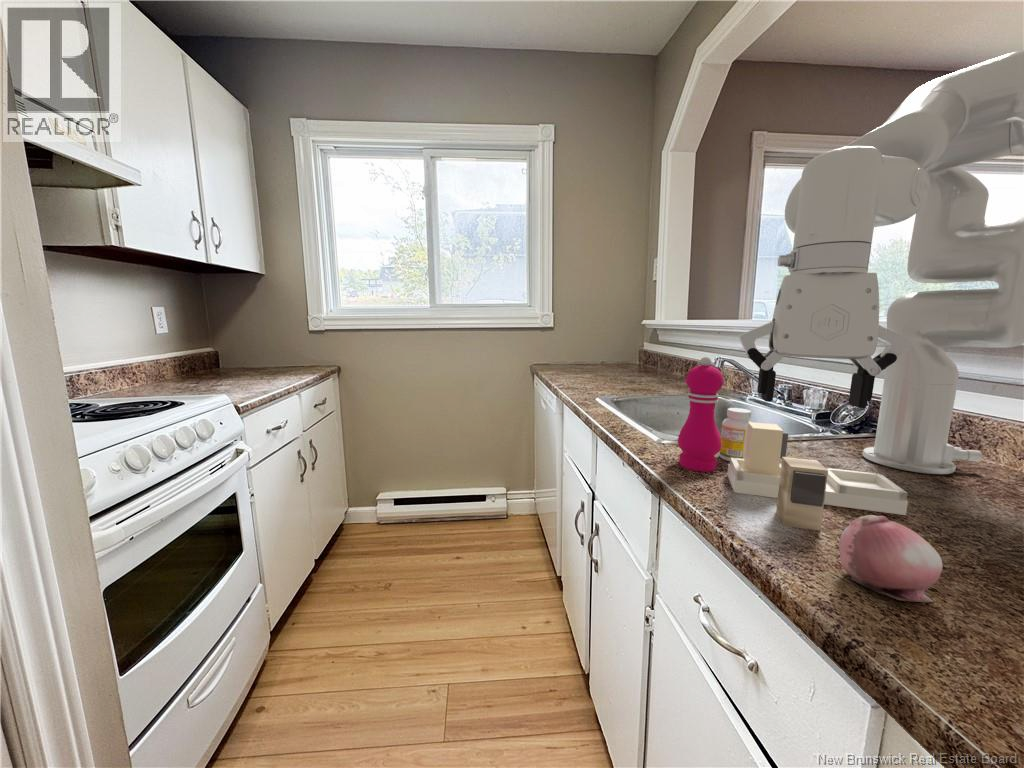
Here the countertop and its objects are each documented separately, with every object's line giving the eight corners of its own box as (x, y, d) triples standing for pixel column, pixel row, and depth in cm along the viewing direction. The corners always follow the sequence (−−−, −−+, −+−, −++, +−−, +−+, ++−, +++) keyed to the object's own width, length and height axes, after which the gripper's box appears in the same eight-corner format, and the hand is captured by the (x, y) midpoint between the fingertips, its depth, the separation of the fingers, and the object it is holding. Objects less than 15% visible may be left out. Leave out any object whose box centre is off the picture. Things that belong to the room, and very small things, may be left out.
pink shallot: (830, 566, 46) (845, 504, 47) (925, 602, 42) (942, 532, 42) (833, 578, 40) (851, 506, 40) (945, 622, 35) (965, 540, 36)
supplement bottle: (731, 464, 76) (735, 413, 75) (712, 454, 82) (716, 407, 80) (757, 462, 77) (762, 412, 76) (737, 453, 82) (741, 406, 81)
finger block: (776, 511, 57) (782, 456, 56) (810, 516, 56) (817, 460, 55) (785, 528, 53) (792, 468, 52) (822, 533, 51) (830, 472, 50)
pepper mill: (724, 474, 71) (735, 359, 68) (680, 471, 72) (688, 358, 69) (713, 460, 78) (722, 355, 75) (673, 458, 79) (680, 354, 76)
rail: (879, 493, 64) (888, 430, 62) (905, 515, 56) (917, 445, 55) (727, 475, 71) (732, 418, 69) (734, 492, 64) (740, 429, 62)
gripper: (752, 261, 49) (738, 402, 52) (940, 256, 43) (913, 415, 46) (741, 269, 56) (729, 393, 59) (902, 266, 50) (880, 404, 53)
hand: (810, 403), depth 52 cm, fingers open, 9 cm apart
